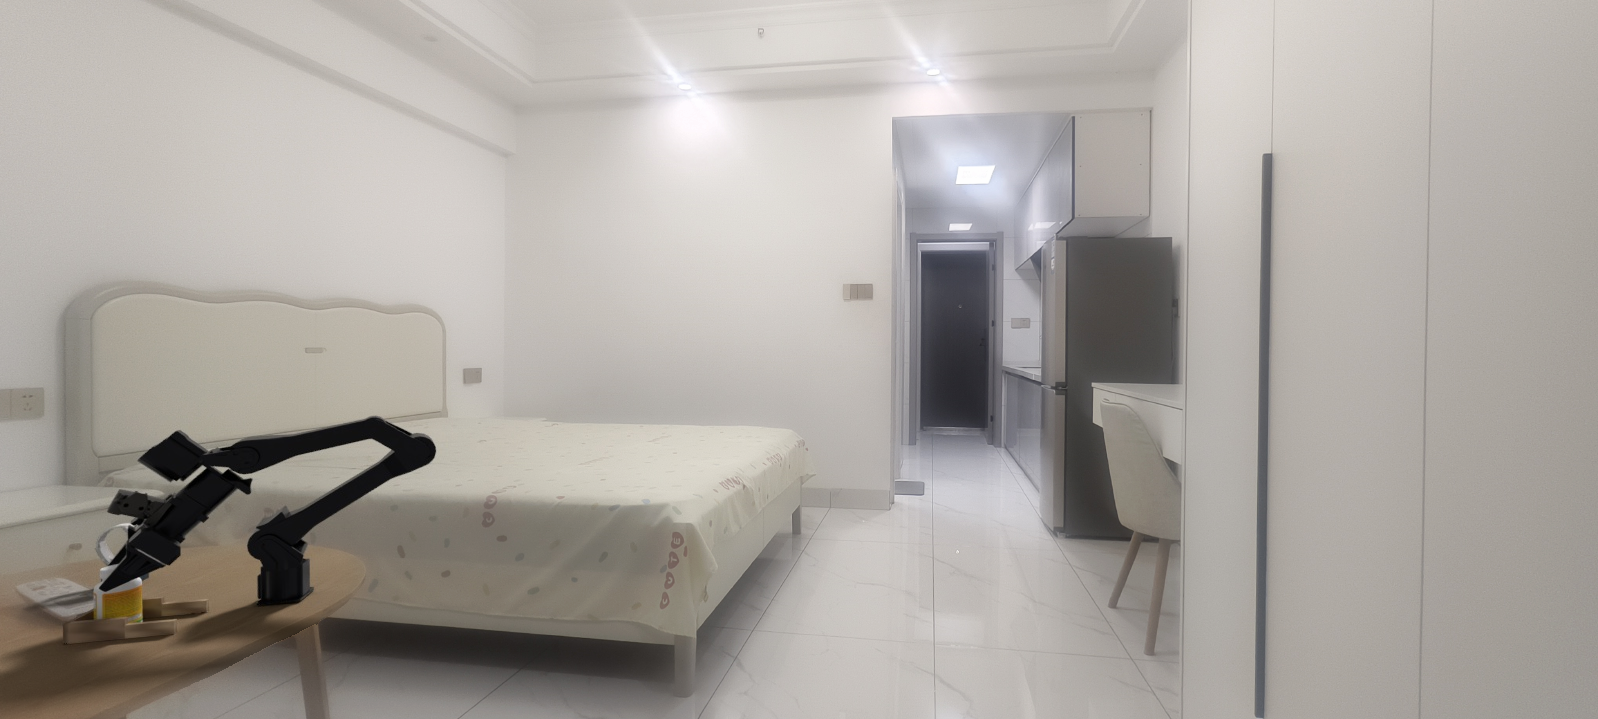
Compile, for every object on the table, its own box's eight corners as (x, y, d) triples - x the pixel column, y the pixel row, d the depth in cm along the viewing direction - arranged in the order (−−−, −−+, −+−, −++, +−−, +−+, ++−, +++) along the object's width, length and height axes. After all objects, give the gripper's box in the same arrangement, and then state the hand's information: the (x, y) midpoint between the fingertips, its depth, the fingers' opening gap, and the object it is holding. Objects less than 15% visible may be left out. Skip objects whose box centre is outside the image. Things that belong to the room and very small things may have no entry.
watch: (144, 585, 125) (143, 526, 125) (88, 590, 123) (87, 529, 122) (161, 575, 130) (161, 518, 130) (108, 580, 128) (108, 522, 128)
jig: (209, 610, 113) (209, 592, 113) (174, 633, 104) (173, 614, 104) (108, 619, 110) (108, 600, 109) (63, 644, 100) (62, 624, 100)
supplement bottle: (152, 622, 108) (151, 561, 108) (115, 636, 103) (114, 572, 103) (122, 620, 109) (121, 560, 109) (83, 634, 104) (83, 571, 103)
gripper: (149, 462, 115) (53, 540, 108) (149, 478, 102) (40, 568, 94) (211, 502, 121) (124, 578, 113) (219, 521, 107) (121, 609, 100)
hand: (103, 582), depth 105 cm, fingers open, 9 cm apart
